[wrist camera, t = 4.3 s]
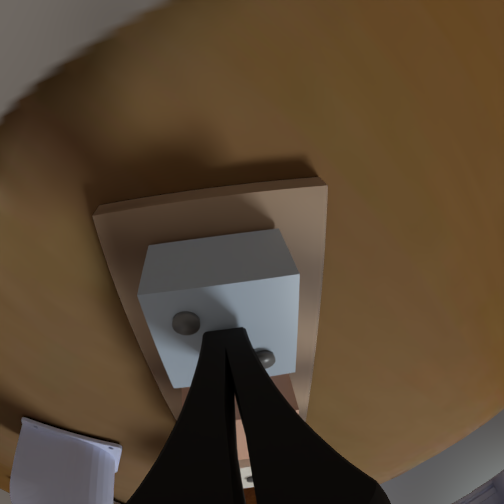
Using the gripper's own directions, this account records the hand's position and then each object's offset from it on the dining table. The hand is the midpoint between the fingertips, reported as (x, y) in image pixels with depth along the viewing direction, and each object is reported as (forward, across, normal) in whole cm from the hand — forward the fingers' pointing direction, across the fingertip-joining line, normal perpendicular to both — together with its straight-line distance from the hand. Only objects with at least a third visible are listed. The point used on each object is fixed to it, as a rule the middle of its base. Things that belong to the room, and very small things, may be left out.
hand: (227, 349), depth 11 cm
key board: (+4, 0, +6) cm, 8 cm away
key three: (+3, 0, 0) cm, 3 cm away
